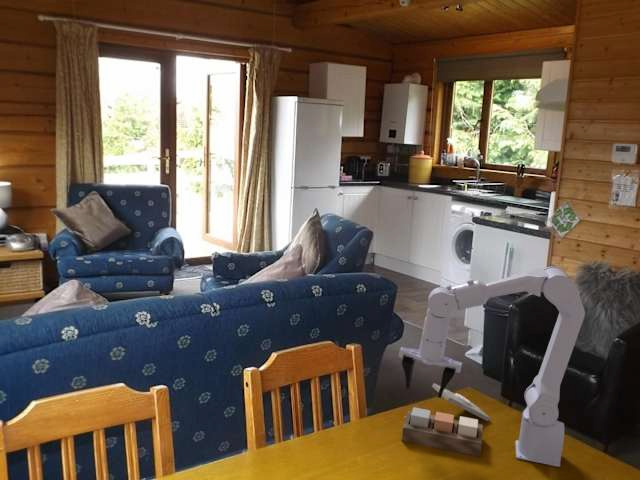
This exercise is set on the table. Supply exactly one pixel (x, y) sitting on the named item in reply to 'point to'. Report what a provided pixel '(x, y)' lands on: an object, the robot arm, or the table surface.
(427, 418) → the slate key
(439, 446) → the brown slotted tray
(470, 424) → the ivory key
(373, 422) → the table surface
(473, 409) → the light switch
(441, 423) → the rust key
